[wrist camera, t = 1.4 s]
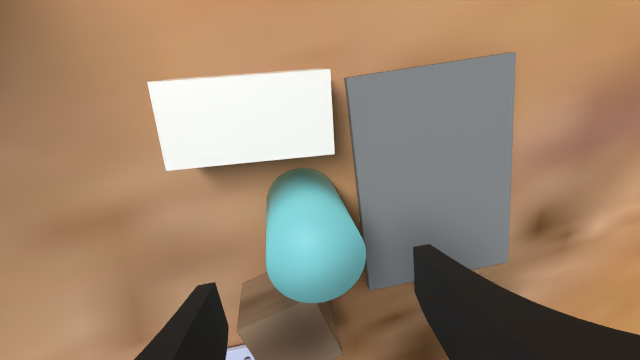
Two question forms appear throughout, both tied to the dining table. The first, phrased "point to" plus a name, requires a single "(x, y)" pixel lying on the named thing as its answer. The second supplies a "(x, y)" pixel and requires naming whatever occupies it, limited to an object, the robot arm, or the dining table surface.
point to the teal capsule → (311, 238)
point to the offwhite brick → (243, 117)
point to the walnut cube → (285, 325)
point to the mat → (433, 163)
